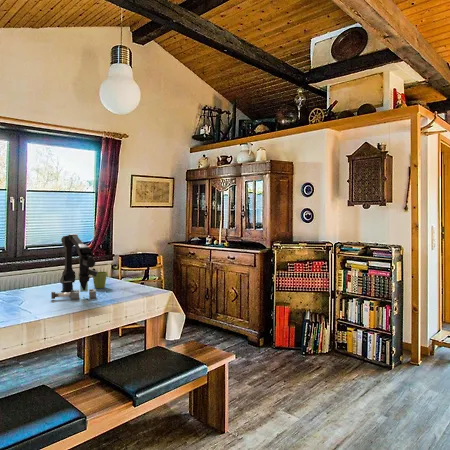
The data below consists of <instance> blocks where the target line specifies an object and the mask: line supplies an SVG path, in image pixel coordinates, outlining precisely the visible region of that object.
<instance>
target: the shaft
mask: <svg viewBox="0 0 450 450" xmlns="http://www.w3.org/2000/svg"><path fill="white" fill-rule="evenodd" d="M50 295H51V296H50V297H51V300H53V299H56V298H66V297H67V298H68V297H71V292H56V291H51V294H50Z"/></svg>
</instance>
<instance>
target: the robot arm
mask: <svg viewBox="0 0 450 450" xmlns="http://www.w3.org/2000/svg"><path fill="white" fill-rule="evenodd" d="M61 245H62V246H63V248H64V269H63V271H62V273H61V274H62V275H61V276H60V277H61V278H59V282H60V284H62V287H61V288H62V290H60V293H67V292H71V290H74V285H73V284H74V283H75V282H76V271H75V270H74V269H73V248H74V247H76V249H77V251H76V253H77V255H78V259H79V264H78V265H79V270H78V271H79V273H78V281H79V283H80V284H81V286H82V288H83V290H85V288H86V283H87V282H89V281H90V276H92V275H93V276H95V277H96V275H97V273H98V272H99V271H97V270H96V268H95V266H96V261H95V259H93V256H94V255H93V252H92V249H91V248H90V246H88V245H87V244H84V243H83V241H82V240H81V239H80V238H79V236H78V233H70V234H67V235H63V236H62V237H61ZM80 284H79V285H80Z"/></svg>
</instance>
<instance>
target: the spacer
mask: <svg viewBox="0 0 450 450" xmlns="http://www.w3.org/2000/svg"><path fill="white" fill-rule="evenodd" d="M88 282H89V281H88ZM88 282H87V283H86V288H85V290H83V288H82V286H81V284H79V285H80V288H79V289H80V290H79V293H83V292H84V293H85V292H89V287H88V285H89V284H88Z"/></svg>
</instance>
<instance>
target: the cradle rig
mask: <svg viewBox="0 0 450 450" xmlns="http://www.w3.org/2000/svg"><path fill="white" fill-rule="evenodd" d="M88 293H89V296H88V297H89V300H92V299H94V300H95V299H97V288H88ZM75 300H77V301H79V300H80V290H79V289H73V290H71V296H70V301H75Z"/></svg>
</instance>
